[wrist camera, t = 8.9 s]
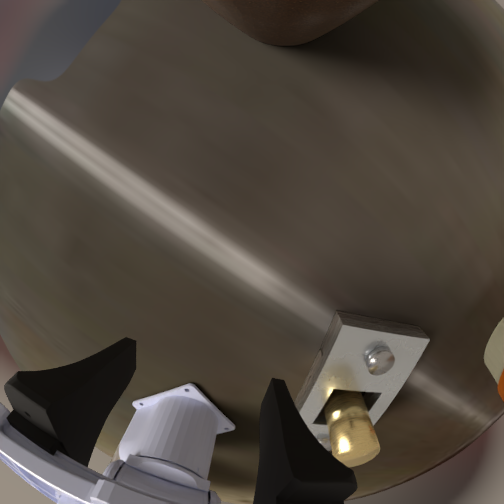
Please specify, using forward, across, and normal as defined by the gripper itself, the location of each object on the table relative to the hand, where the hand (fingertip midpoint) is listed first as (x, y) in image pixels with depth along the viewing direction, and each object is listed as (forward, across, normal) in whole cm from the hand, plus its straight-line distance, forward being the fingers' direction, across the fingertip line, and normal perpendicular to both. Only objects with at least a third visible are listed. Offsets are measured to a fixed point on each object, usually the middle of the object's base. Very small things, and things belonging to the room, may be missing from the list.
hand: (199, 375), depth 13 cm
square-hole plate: (+9, -13, +8) cm, 18 cm away
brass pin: (+9, -13, +8) cm, 18 cm away
